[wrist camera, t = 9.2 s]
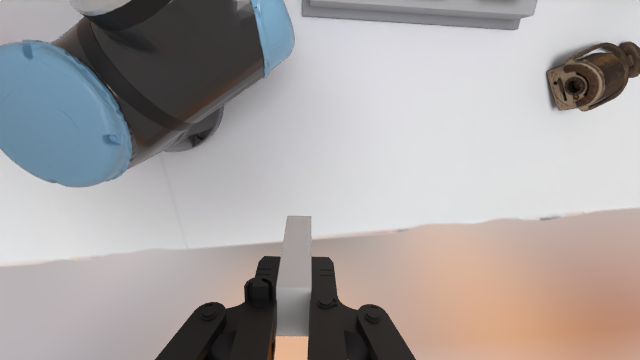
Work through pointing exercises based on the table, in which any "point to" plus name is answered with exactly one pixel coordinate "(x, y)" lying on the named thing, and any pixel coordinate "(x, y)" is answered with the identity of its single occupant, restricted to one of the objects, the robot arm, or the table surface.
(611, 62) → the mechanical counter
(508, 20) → the switch unit
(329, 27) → the table surface
